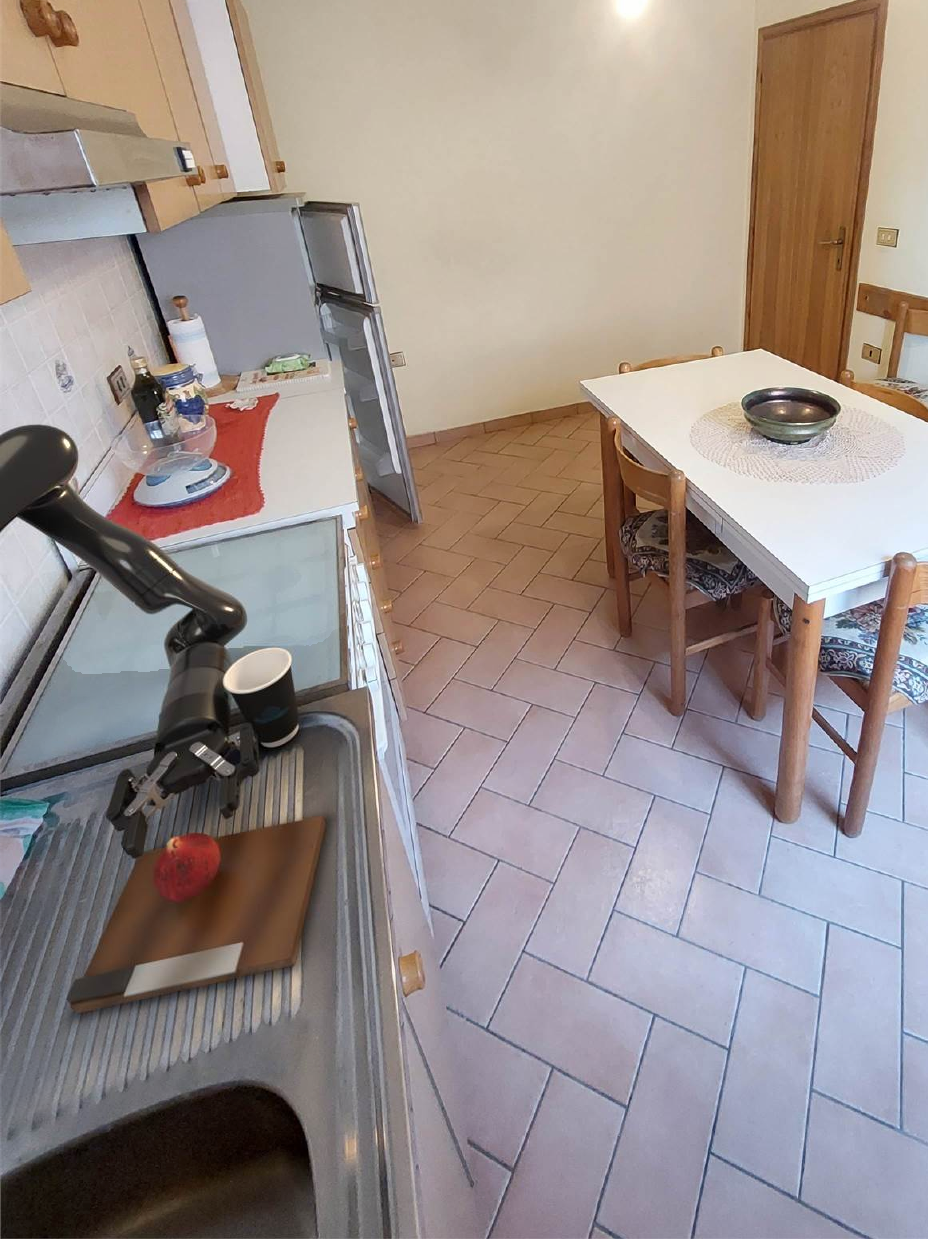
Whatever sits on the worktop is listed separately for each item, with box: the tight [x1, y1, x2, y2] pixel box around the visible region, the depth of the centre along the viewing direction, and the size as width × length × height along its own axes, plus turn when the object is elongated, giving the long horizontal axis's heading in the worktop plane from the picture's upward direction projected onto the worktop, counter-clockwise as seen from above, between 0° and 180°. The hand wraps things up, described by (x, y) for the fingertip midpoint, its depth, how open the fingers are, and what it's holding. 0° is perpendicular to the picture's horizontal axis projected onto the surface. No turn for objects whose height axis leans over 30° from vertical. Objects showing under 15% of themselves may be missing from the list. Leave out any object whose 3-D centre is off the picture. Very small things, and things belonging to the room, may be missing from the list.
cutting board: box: [65, 815, 327, 1015], centre depth 66 cm, size 20×14×2 cm
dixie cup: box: [223, 647, 300, 748], centre depth 83 cm, size 8×8×11 cm
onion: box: [154, 832, 221, 902], centre depth 66 cm, size 6×6×8 cm
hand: (180, 833), depth 66 cm, fingers open, 8 cm apart
